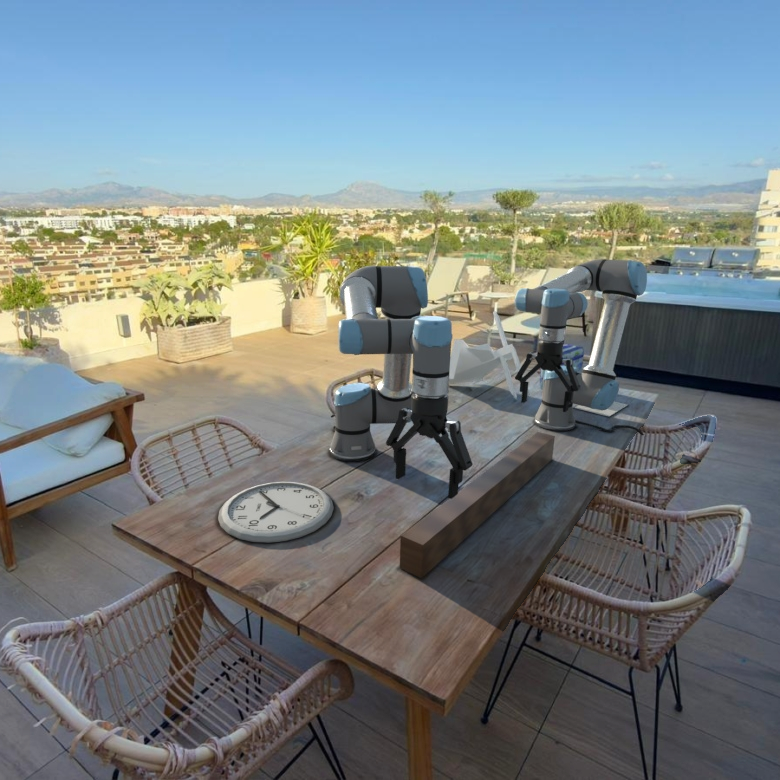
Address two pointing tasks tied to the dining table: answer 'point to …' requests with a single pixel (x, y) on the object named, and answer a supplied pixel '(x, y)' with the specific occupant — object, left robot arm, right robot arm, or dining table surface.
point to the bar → (472, 506)
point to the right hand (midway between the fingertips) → (544, 406)
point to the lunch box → (569, 352)
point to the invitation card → (608, 412)
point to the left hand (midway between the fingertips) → (425, 486)
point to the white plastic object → (482, 360)
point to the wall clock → (275, 512)
